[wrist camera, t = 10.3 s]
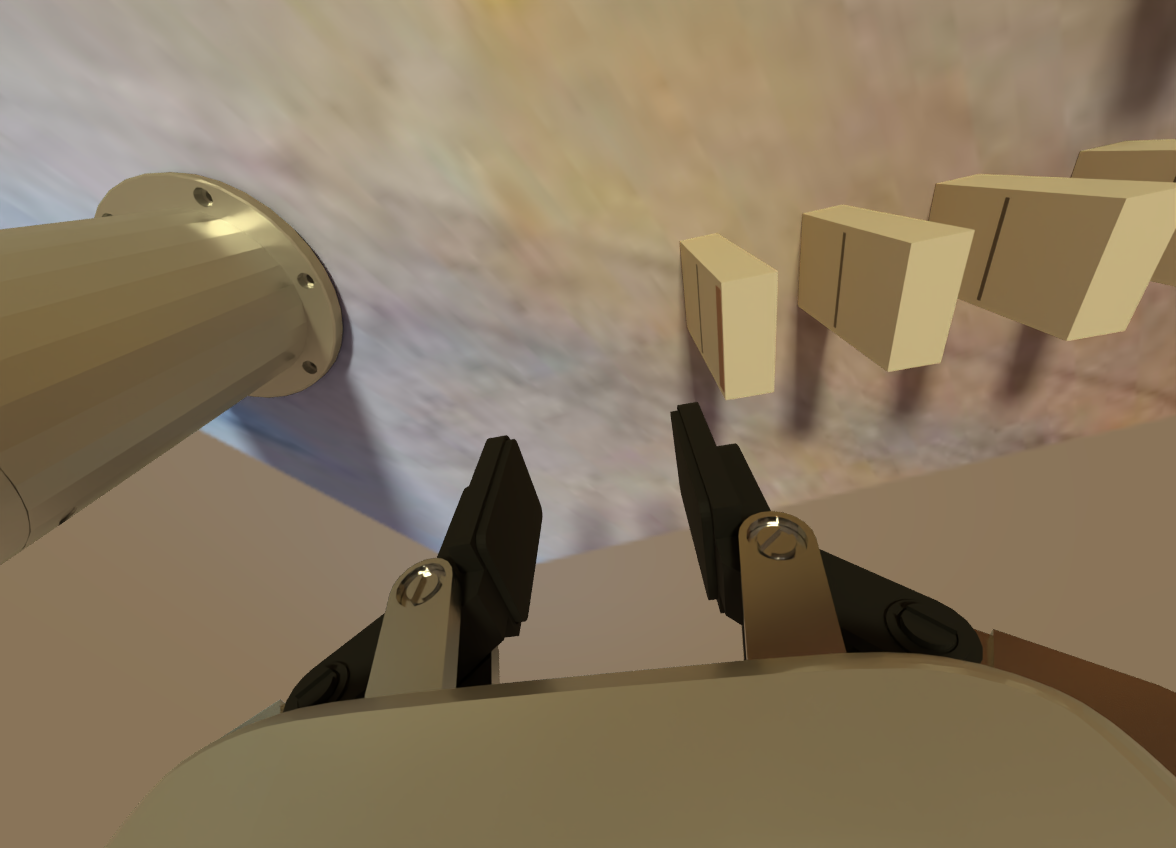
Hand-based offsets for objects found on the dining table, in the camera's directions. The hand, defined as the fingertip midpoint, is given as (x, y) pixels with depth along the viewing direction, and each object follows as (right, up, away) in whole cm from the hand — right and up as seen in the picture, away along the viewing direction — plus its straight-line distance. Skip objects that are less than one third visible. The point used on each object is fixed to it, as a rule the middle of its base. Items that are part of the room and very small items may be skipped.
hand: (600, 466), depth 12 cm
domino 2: (+12, +10, +11) cm, 20 cm away
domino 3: (+19, +11, +11) cm, 24 cm away
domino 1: (+6, +9, +12) cm, 16 cm away
